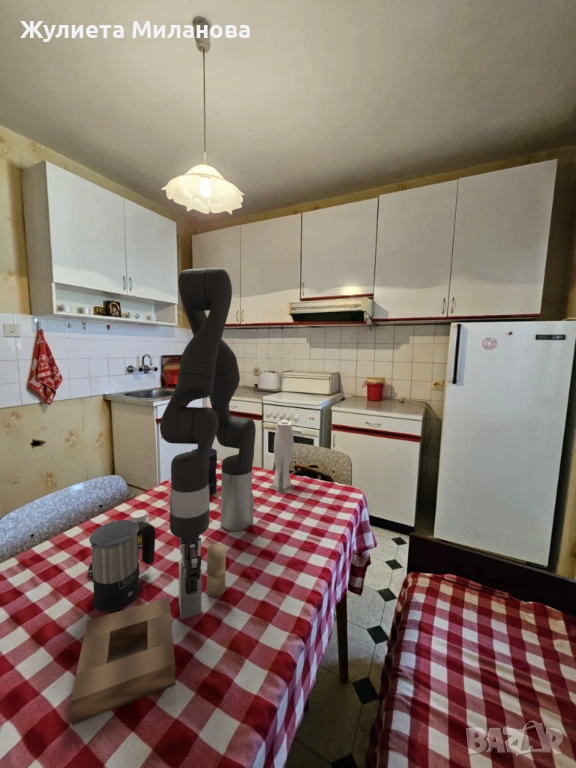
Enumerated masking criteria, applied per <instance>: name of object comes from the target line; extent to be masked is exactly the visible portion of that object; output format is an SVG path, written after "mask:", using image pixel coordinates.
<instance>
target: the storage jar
mask: <svg viewBox="0 0 576 768" xmlns="http://www.w3.org/2000/svg"><path fill="white" fill-rule="evenodd" d="M194 450H197V448H195V449H192V450H191V451H194ZM217 467H218V450H217V449H215V448H212V449H211V453H210V458H209V475H208V485H209V493H210V497H211V496H213V495H215V494H216V492H217V491H218V490H217V485H218V484H217V483H218V476H217Z"/></svg>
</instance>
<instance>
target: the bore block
mask: <svg viewBox="0 0 576 768" xmlns="http://www.w3.org/2000/svg"><path fill="white" fill-rule="evenodd" d="M170 602H171V601H170V596H169V597H165V598H162V599H159V600H154V601H152V602H148V603H144V604H141V605H138V606H133V607H130V608H126V609H123V610H122V609H121V610H118V611H116V612H115V611H114V612H113V613H107V614H105V615H102V616H98V617H94V618H90V619H87V620H86V625H85V629H84V630H85V631H84V635H83V640H82V644H81V649H80V654H79V658H78V664H77V669H76V674H75V679H74V683H73V687H72V692H71V697H70V701H69V703H70V716H71V717H70V718H71V726H74V725H77V724H79V723H82V722H85V721H86V720H89V719H92V718H95V717H96V716H100V715H102V714H104V713H107V712H110V711H112V710H114V709H118V708H120V707H123V706H124V705H125V706H126V705H128V704H129V703H132V702H135V701H137V700H140V699H143V698H145V697H148V696H150V695H152V694H155V693H158V692H160V691H162V690H165V689H168V688H170V687H173V686H175V685H176V658H175V657H176V656H175V649H174V648H175V646H174V635H173V626H172V624H173V623H172V615H171V613H172V612H171V603H170Z"/></svg>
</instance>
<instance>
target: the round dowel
mask: <svg viewBox="0 0 576 768" xmlns="http://www.w3.org/2000/svg"><path fill="white" fill-rule="evenodd" d="M206 549H207V550H206V593H207V595H208V596H209V597H211V598H218V597H221V596H222V595H223V594H224V593H225V591H226V564H227V562H226V561H227V560H226V554H227V551H226V549H227V547H226V545H225V544H223V543H221V542H216V543H212V544H210V545H209V546H208V547H207V548H206Z"/></svg>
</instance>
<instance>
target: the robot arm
mask: <svg viewBox="0 0 576 768" xmlns="http://www.w3.org/2000/svg"><path fill="white" fill-rule="evenodd" d="M177 284H178V285H177V286H178V291H179V295H180V296H179V298H180V301H181V304H182V306H183V311H184V313H185V315H186V318H187V321H188V324H189V326H190V330H191V332H192V335H193V337H192V338H191V339H190V340H189V342H188V343H187V345H186V346H185V348H184V350H183V351H182V355H181V359H180V363H179V369H178V375H177V382H176V385H175V388H174V391H173V392H172V395H171V398H169V399H170V400H169V401H168V404H167V406H166V408H165V410H164V411H163V413H162V416H161V418H160V421H159V422H160V424H159V431H160V435H161V437H162V439H163V440H164V441H165V442H166V443H169V444H178V445H180V444H181V445H184V444H185V445H197V448H196V449H197V450H194V449H193V450H194V451H192V450H191V451H187V452H183V453H179V454H177V455H175V456H174V457H173V458H172V460H171V462H170V480H171V481H170V493H169V531H170V533H171V534H172V535H173V536H175V537H177V538H178V542H179V550H180V551H179V552H180V554H181V560H182V565H183V567H185V574H184V576H185V591H186V594H187V595H188V594H192V593H195V592H197V580H198V579H200V572H201V568H202V561H203V557H202V555H201V548H202V537H200V536H201V535H202V534H204V533H205V532H206V531H207V530H208V529H209V527H210V505H211V504H210V501H211V500H210V497H211V496H210V493H209V485H208V475H209V458H210V453H211V449H213V445H214V441H215V439H216V440H217V442H218V443H219V445H220V446H221V447H225V448H230V449H231V448H232V449H237V450H238V454H232V455H229V456H227V457H225V458H224V459H223V460H222V461H221V482H220V483H221V485H220V487H221V491H220V492H221V494H220V496H221V497H220V525H221V527H222V528H223V529H225V530H227V531H232V532H236V531H242V530H245V529H247V528H248V527H249V526H252V525H254V507H255V506H254V505H255V503H254V502H255V500H254V499H255V496H254V493H253V491H252V490H253V464H254V458H255V445H256V444H255V443H256V432H257V430H256V428H257V427H256V423H255V421H254V419H252V418H249V417H242V416H241V417H240V416H234V415H232V414H231V411H230V402H231V401H232V399H233V397H234V394H235V393H236V391H237V389H238V387H239V384H240V379H241V376H240V370H239V365H238V360H237V356H236V354H235V353H234V351H233V350H232V348H231V347H230V345H228V343H227V342H225V340H224V339H223V335H224V334H223V333H224V331H225V328H226V323H227V319H228V315H229V311H230V308H231V304H232V297H233V296H232V295H233V285H232V281H231V277H230V276H229V273H228V272H227V271H226V269H224V268H222V267H204V268H190V269H184V270H181V271H180V273H179V276H178V283H177ZM206 311H207V312H208V311H209V312H208V314H206ZM208 397H209V401H210V405H211V407H203V406H202V407H201V406H199V407H196V406H195V407H194V406H188V405H190V404H191V402H194V401H196V400H202V399H206V398H208ZM185 559H187V560H185Z"/></svg>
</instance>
